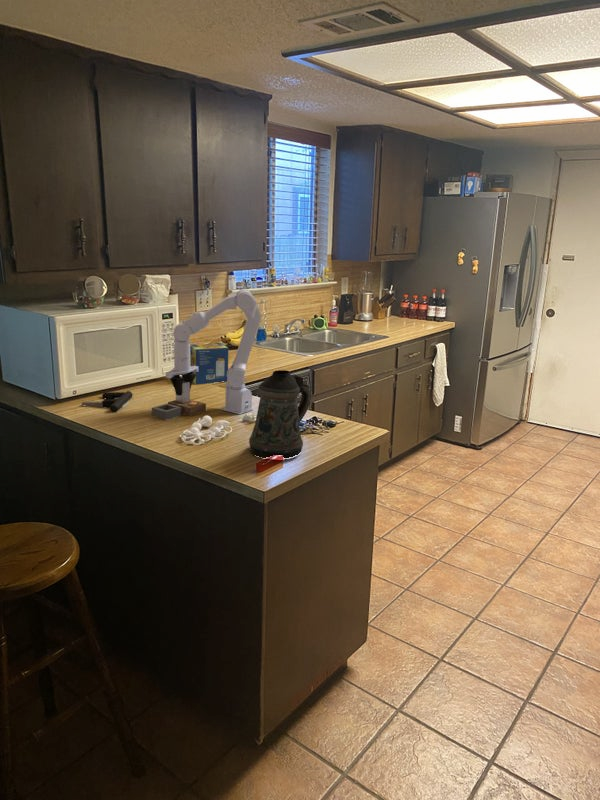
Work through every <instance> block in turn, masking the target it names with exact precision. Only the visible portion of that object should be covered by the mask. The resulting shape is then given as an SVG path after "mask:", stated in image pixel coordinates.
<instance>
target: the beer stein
mask: <svg viewBox="0 0 600 800" xmlns="http://www.w3.org/2000/svg"><path fill="white" fill-rule="evenodd" d="M258 390H259V391H258V392H259V393H260V395H259V396H260V398H259V402H258V407H257V413H256V418H255V422H254V427H253V429H252V432H251V435H250V436H249V438H248V442H249V443H248V444H249V448H250V453H251V452H252V453H253V454H254V455H256V456H259V457H262V458H266V457H270V456H273V455H283V457H284V458H289V457H293V456H295V455H298V454H299V453H300V452H301V453H302V449H303V446H304V441H303V438H302V436H301V428H300V423H301V421H302V420H303V419H304V417H305V416H306V414H307V412H308V410H309V407H310V405H311V401H312V393H311V390H310V386H309V385H307V384H306V383H304V378H303V377H301V375H300V376H299V375H298V374H296V373H294V374H291V373H290V371H289V370H283V369H279V370H274V371H273V373H272V374H271V375H270V376H269V377H267V378H266V379H264V380H263V381H262V382H261V383H259V384H258ZM300 393H301V398H300V402H299V404H298V396H299V394H300ZM252 453H251V454H252ZM253 454H252V455H253ZM254 455H253V456H254ZM256 456H255V457H256Z"/></svg>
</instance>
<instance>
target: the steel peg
mask: <svg viewBox="0 0 600 800" xmlns="http://www.w3.org/2000/svg"><path fill="white" fill-rule="evenodd" d="M175 400H176V403H179V404H186V403H189V402H190V400H191V389H190V382H188V381H184V380H183V384H182V394H181V396H179V395H176V394H175Z"/></svg>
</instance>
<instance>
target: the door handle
mask: <svg viewBox="0 0 600 800" xmlns="http://www.w3.org/2000/svg"><path fill="white" fill-rule="evenodd" d="M101 396H102V399H103V398H106V399H103V400H102V401H82V402H81V406H82V405H86V406H85V407H87V406H99V407H98V408H103V407H106V408H105V409H109V410H110V411H111V412H112V413H117V412H118V411H120V409H123V408H124V407H125V406H126V405H128V404H129V402H130V399H132V398H133V393H132V391H130V390H128V391H127V390H126V391H125V392H123V391H121V392H111V391H110V392H104V393H102V395H101Z"/></svg>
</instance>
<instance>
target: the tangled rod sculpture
mask: <svg viewBox="0 0 600 800" xmlns="http://www.w3.org/2000/svg"><path fill="white" fill-rule="evenodd" d="M212 424H213V419H212V417H211V416H210V415H204V416H203V417H199V418H198V420H196V421H194V422H193V423H192V425H191V426H189V428H187V429H185V430H184V431H181V432H182V433H181V434H179V438H180V440H181V441H182V442H184V443H186V444H189V445H190V444H193V445H195V446H196V445H197V446H200V445H204V444H205V442H209V441H210V440H212V439H218V440H219V439H222V438H225V436H226V435H227V434H230V433H232V432H233V428H232V426H231V422H229V421H227V420H225V419H223V420H222V419H221V420H218V421H216V422H215V424H213V425H212ZM211 425H212V426H211ZM202 426H203V427H206V428H207V427H210V426H211V427H210V428H209V429H207V430H202ZM225 428H229V429H230V431H227V430H225ZM221 434H222V436H220V435H221ZM203 438H205V439H206V440H205V439H203ZM188 439H190V440H188ZM187 440H188V441H187ZM197 440H199V442H198V443H196V442H195V441H197Z"/></svg>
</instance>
